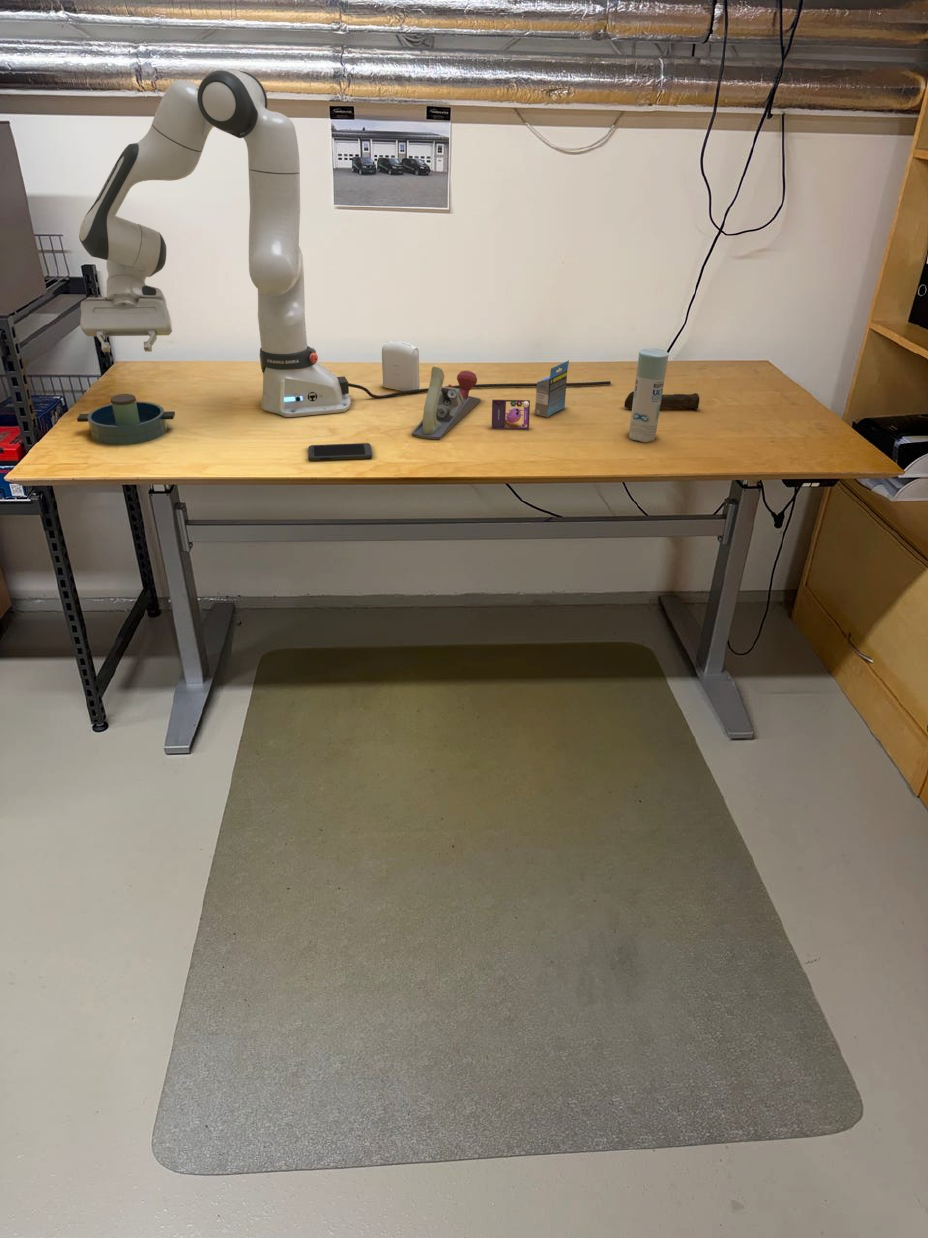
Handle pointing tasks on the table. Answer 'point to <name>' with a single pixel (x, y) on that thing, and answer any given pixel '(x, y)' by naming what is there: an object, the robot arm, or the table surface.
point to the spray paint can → (647, 394)
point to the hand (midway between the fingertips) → (126, 350)
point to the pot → (138, 433)
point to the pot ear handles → (166, 416)
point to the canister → (125, 409)
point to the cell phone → (340, 451)
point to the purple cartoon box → (512, 416)
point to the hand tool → (671, 401)
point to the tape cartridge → (552, 392)
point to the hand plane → (445, 404)
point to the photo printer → (400, 366)
